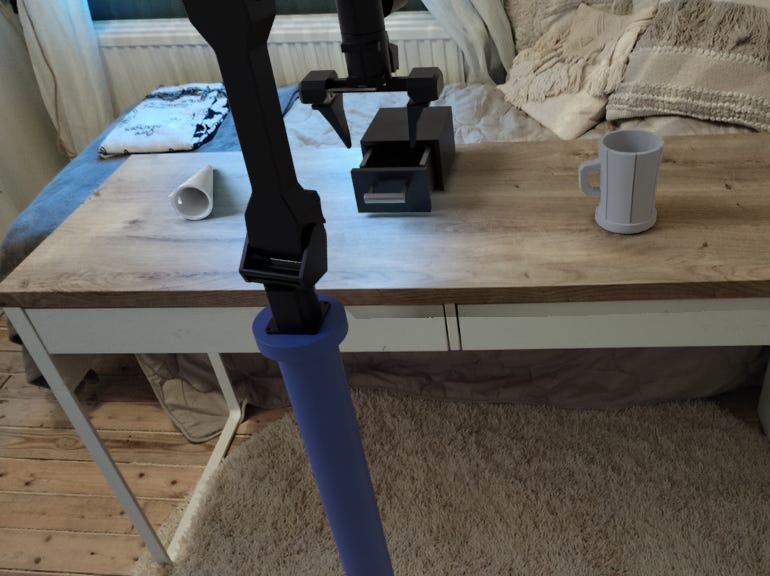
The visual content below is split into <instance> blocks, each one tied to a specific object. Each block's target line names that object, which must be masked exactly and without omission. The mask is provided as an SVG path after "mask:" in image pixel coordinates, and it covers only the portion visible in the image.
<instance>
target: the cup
mask: <svg viewBox="0 0 770 576" xmlns="http://www.w3.org/2000/svg"><path fill="white" fill-rule="evenodd" d="M597 143H598V144H597V145H598V146H597V147H598V157H597V158H592V159H588V160H584V161H582V162H581V163H580V164H579V165H578V168H577V169H578V187H579V190H580V192H582V193H583V195H585V196H586V197H587V198H598V205H597V206H596V207H595V213H594V214H595V217H594V220H595V222H596V224H597V225H598V226H600V228H602V229H604V230H605V231H608V232H611V233H615V234H620V235H632V234H638V233H642V232H646V231H647V230H649V229H650V228H652V227H653V226H654V225H655V223H656V222H657V215H658V212H657V208H656V206H655V205H656V197H657V189H658V182H659V176H660V170H661V165H662V164H661V163H662V160H663V155H664V149H665V139H664V138H663V136H662V135H660V134H658V133H656V132H652V131H650V130H647V129H646V130H645V129H639V128H624V129H615V130H613V131H608V132H607V133H605V134H602V135H601V137H600V138H598V142H597ZM593 172H598V179H599V185H598V186H592V185H591V184H590V182H589V181H588V179H587V177H588V176H589V175H590V174H591V173H593Z"/></svg>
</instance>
